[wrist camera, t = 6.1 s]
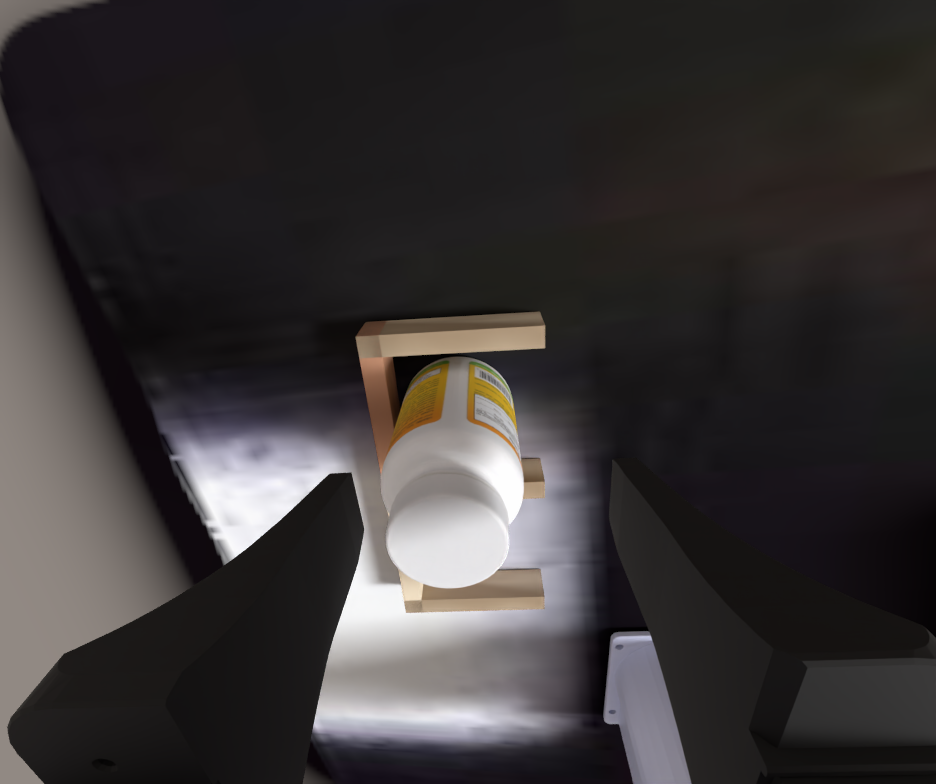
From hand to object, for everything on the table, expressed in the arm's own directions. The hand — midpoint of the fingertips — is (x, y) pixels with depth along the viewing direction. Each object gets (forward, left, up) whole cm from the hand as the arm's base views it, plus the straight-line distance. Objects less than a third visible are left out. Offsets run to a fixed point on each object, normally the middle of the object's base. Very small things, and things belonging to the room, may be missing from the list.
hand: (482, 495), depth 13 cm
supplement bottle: (-3, +1, -11) cm, 11 cm away
